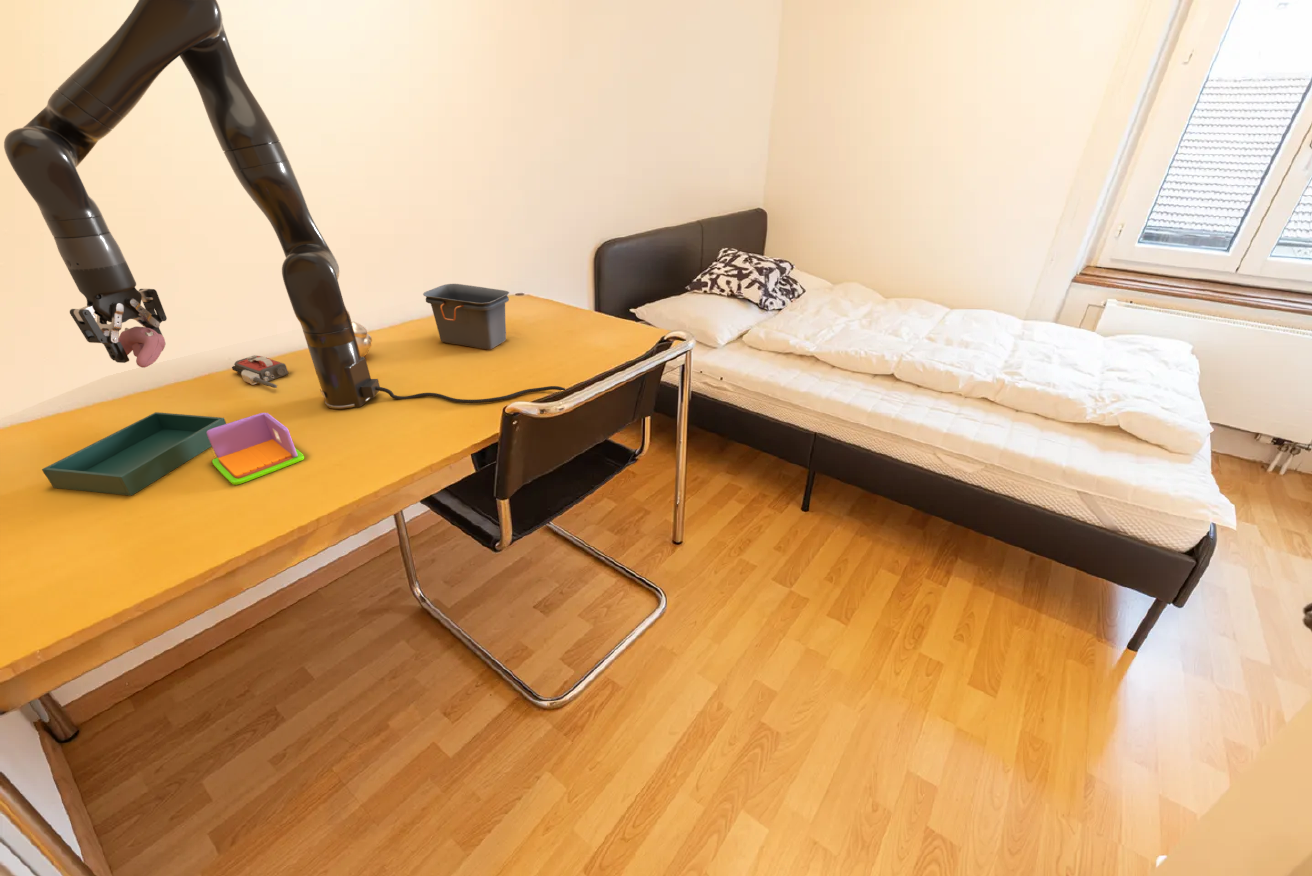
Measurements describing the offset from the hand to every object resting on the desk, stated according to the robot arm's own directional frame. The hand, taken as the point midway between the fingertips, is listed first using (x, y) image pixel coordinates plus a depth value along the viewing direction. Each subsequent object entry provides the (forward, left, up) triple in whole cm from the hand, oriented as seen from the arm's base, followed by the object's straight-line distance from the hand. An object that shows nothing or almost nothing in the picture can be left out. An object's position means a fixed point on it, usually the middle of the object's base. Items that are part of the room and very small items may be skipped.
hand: (141, 354), depth 103 cm
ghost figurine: (-10, -43, -18) cm, 48 cm away
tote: (-2, +8, -17) cm, 19 cm away
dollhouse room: (-22, +6, -18) cm, 29 cm away
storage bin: (-35, -59, -18) cm, 71 cm away
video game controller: (0, 0, -1) cm, 1 cm away
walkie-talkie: (+4, -28, -18) cm, 33 cm away
